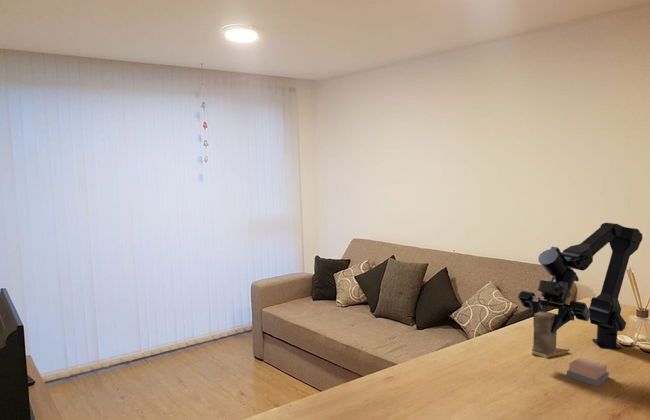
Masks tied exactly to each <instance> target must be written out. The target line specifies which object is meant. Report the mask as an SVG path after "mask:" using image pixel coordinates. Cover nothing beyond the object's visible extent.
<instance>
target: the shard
mask: <svg viewBox="0 0 650 420" xmlns="http://www.w3.org/2000/svg"><path fill="white" fill-rule="evenodd" d="M569 351H570V349H567V348H566V349H565V348H560V347H559V348H558V347H556V352H554V353H553V354H551V355H549V356H548V355H545V354H541V353H538V352H535V351H533V345H532V346H531V355H535V356H538V357H541V358H543V359H549V358H551V357H555V356H556V357H557V356H562V355H566V354H568V353H569Z"/></svg>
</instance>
